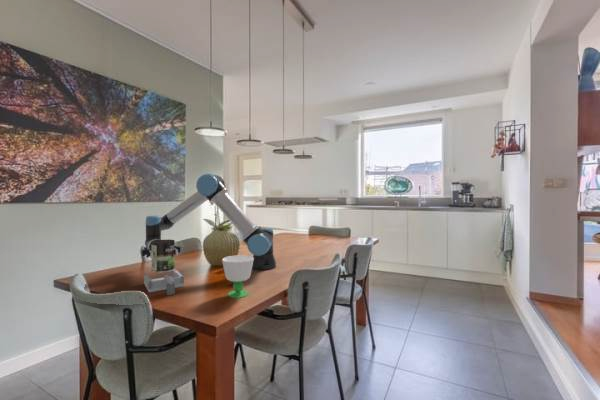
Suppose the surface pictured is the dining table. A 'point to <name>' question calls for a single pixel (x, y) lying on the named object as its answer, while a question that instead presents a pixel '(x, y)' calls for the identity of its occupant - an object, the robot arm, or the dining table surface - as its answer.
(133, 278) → the dining table surface
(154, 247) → the coffee can
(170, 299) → the dining table surface
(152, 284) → the tray
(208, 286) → the dining table surface
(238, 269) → the cup
